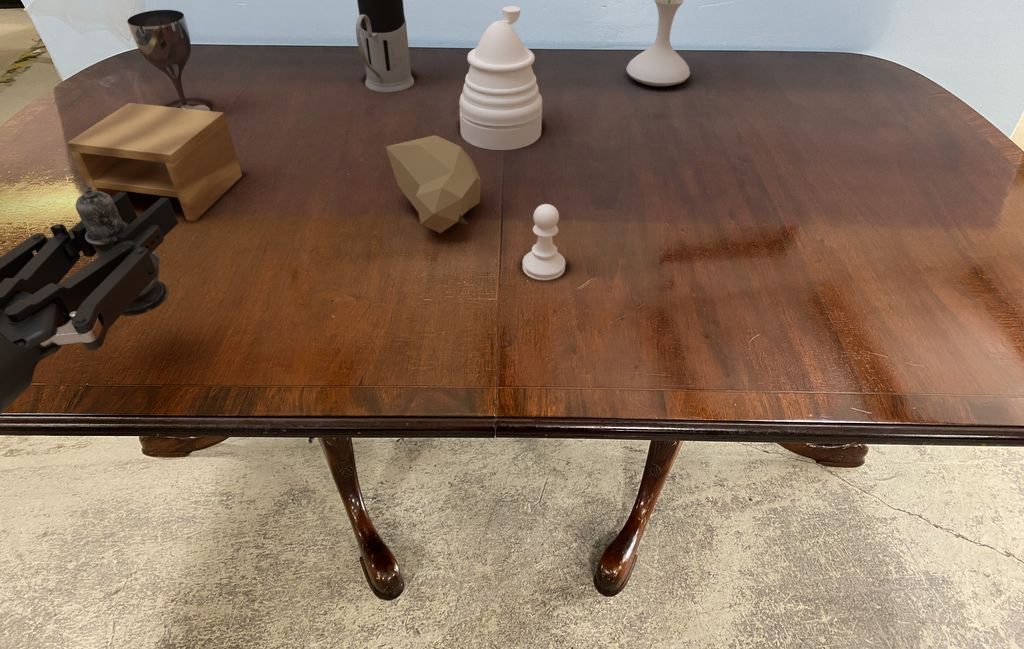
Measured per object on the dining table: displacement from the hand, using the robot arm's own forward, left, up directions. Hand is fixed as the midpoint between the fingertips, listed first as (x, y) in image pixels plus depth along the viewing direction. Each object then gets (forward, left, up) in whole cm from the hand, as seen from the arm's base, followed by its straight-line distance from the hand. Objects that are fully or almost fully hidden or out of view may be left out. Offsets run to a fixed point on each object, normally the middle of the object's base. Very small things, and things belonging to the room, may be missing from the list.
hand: (148, 207), depth 62 cm
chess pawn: (+35, +17, -14) cm, 41 cm away
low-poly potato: (+20, +25, -14) cm, 35 cm away
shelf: (-17, +23, -14) cm, 32 cm away
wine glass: (-30, +47, -14) cm, 57 cm away
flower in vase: (+45, +78, -14) cm, 91 cm away
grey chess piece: (0, -5, -7) cm, 9 cm away
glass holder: (-2, +64, -14) cm, 65 cm away
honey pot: (+22, +52, -14) cm, 58 cm away
